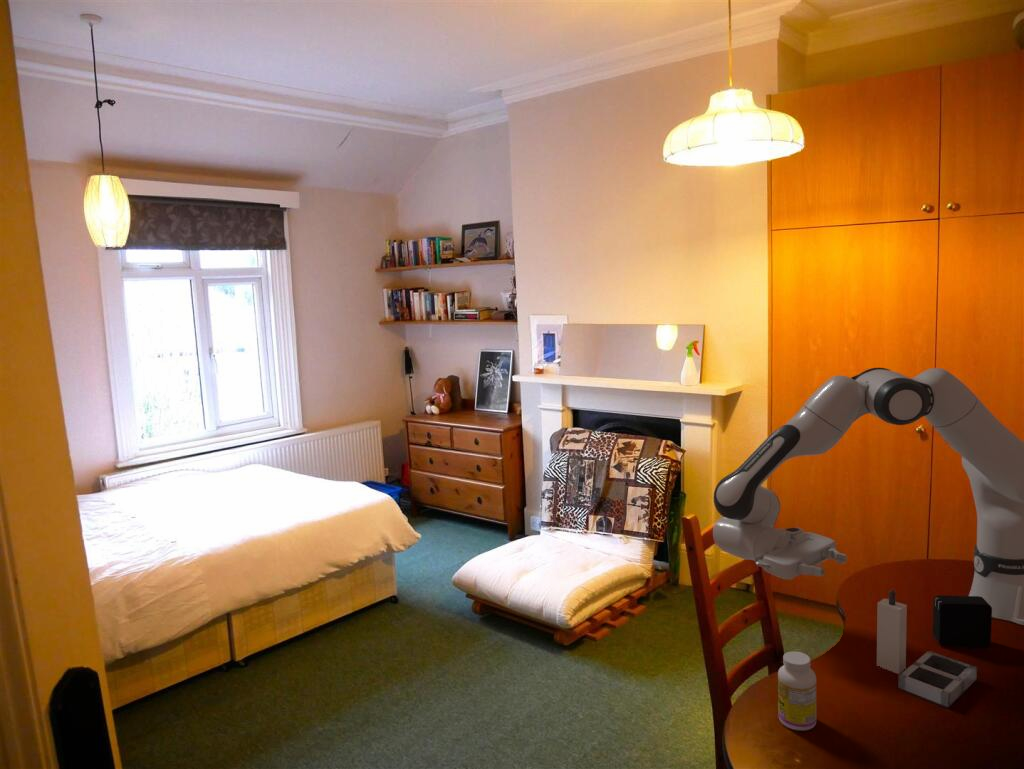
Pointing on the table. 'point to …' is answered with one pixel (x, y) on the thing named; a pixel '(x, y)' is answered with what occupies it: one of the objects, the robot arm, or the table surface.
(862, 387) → the robot arm
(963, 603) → the electronic device
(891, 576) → the table surface
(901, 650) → the plug
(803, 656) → the supplement bottle
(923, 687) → the socket box
